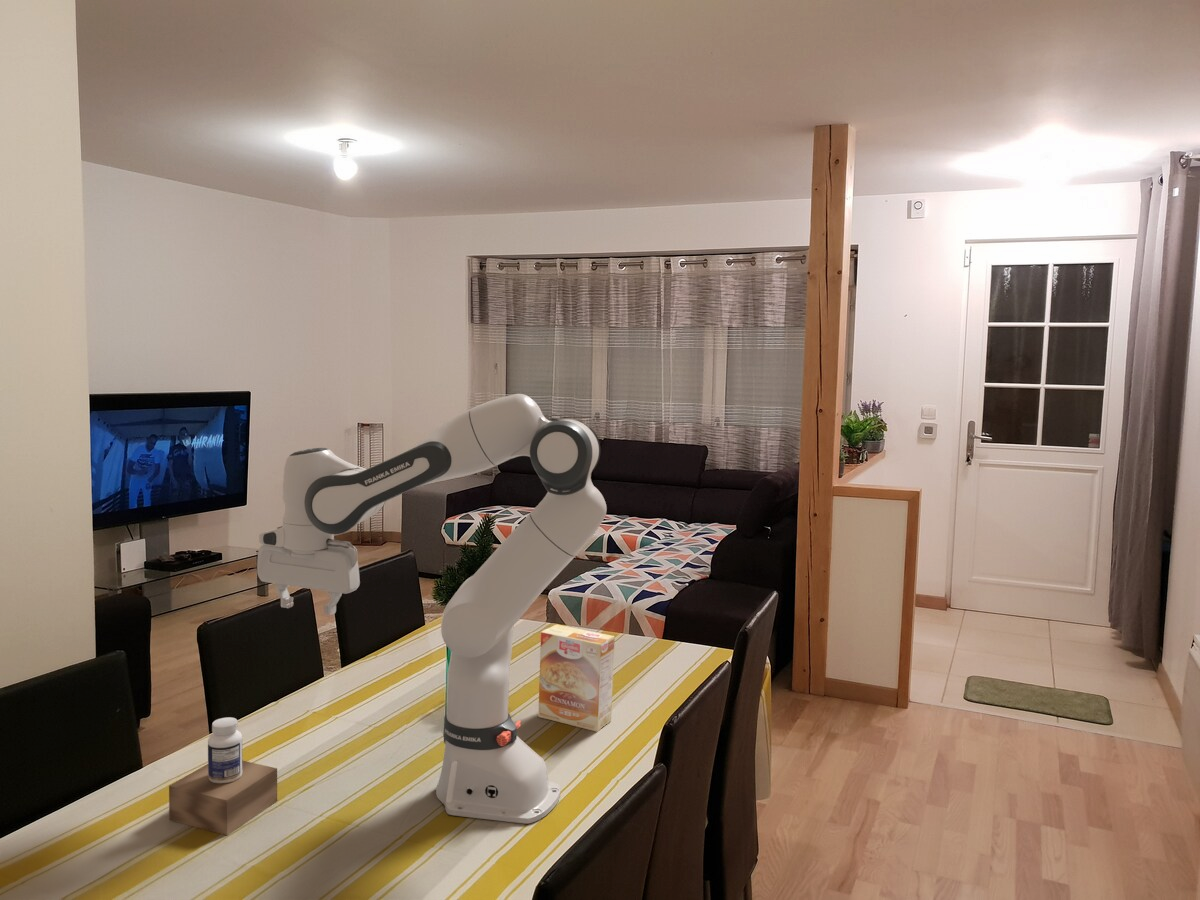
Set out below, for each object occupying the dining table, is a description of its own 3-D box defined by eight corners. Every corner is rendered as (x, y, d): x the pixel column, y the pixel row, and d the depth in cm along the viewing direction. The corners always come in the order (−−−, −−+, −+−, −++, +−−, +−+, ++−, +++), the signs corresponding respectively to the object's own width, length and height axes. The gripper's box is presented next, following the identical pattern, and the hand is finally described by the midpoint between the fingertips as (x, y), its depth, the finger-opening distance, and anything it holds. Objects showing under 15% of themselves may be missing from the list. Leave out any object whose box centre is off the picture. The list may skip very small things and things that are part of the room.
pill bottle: (214, 769, 152) (214, 715, 151) (246, 769, 153) (246, 715, 151) (203, 784, 147) (202, 728, 146) (236, 784, 147) (236, 728, 146)
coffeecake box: (537, 717, 193) (539, 631, 191) (553, 706, 200) (556, 623, 198) (597, 732, 187) (600, 643, 184) (612, 721, 193) (615, 634, 191)
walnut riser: (277, 801, 154) (277, 768, 153) (227, 835, 143) (226, 800, 142) (222, 787, 158) (222, 755, 157) (169, 820, 147) (168, 785, 146)
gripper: (367, 539, 160) (366, 613, 161) (275, 527, 166) (275, 599, 168) (346, 545, 154) (345, 622, 155) (251, 533, 160) (251, 607, 162)
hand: (308, 610), depth 162 cm, fingers open, 8 cm apart
